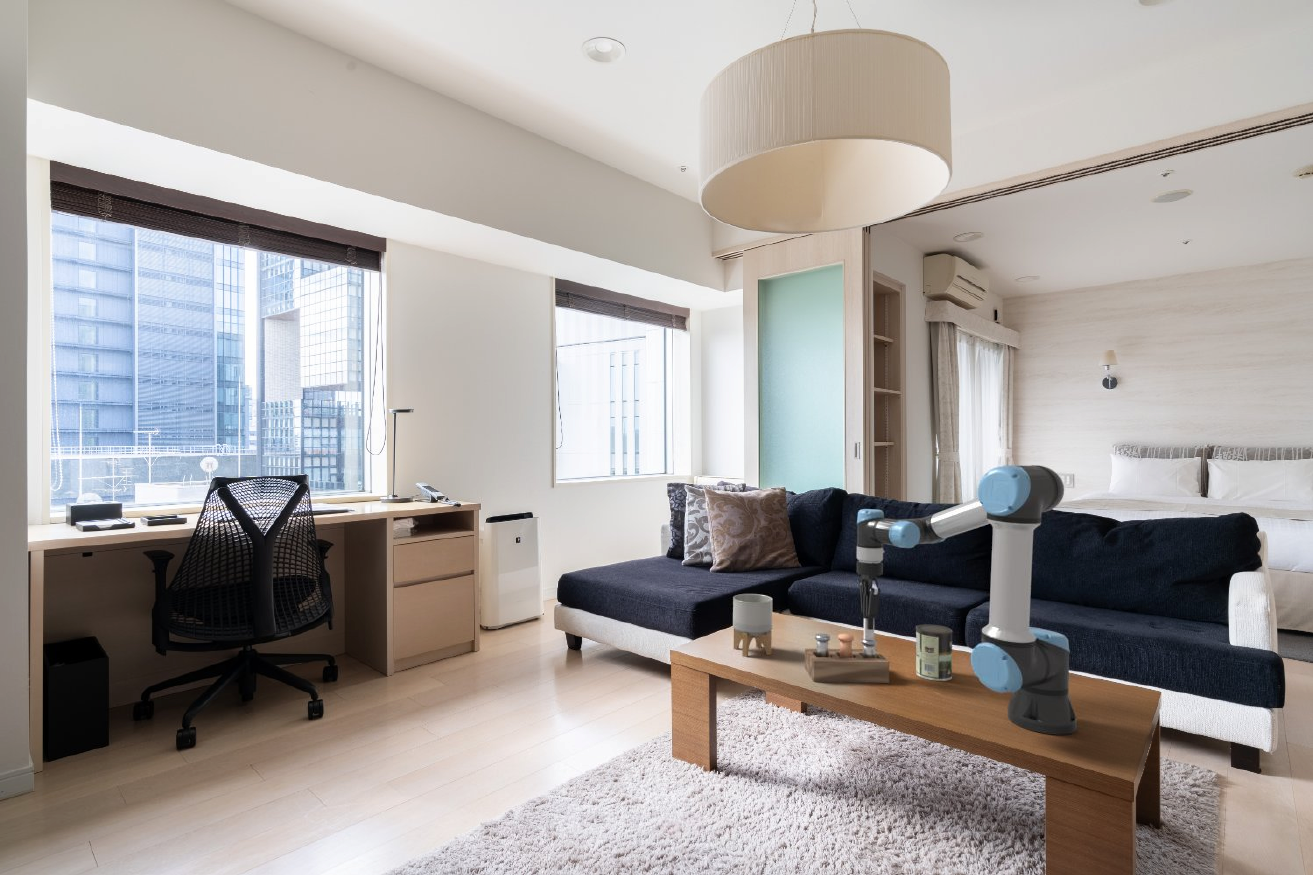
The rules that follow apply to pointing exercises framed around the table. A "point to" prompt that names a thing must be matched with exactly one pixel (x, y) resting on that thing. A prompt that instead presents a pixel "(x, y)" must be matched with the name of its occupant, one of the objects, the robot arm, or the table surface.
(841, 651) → the terracotta plug
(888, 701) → the table surface
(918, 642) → the coffee can
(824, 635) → the grey plug
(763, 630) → the planter
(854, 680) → the wooden slotted block
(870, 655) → the grey plug
